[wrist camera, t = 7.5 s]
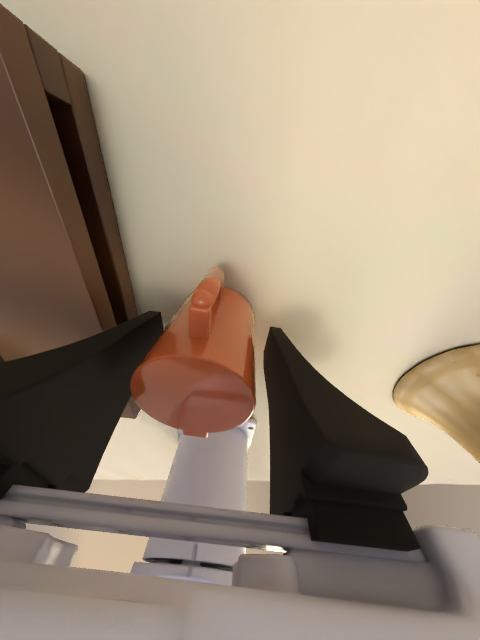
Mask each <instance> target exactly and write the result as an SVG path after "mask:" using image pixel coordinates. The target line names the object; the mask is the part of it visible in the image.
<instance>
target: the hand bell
mask: <svg viewBox="0 0 480 640" xmlns="http://www.w3.org/2000/svg"><path fill="white" fill-rule="evenodd" d="M393 398H394V402H395V403H396V405H397V406H398V407H399V408H400V409H402V410H403V411H405V412H406V413H408V414H410V415H412V416H414V417H418V418H421V419H424V420H426V421H428V422H430V423H432V424H433V425H435V426H437V427H438V428H440V429H441V430H442V431H444V432H445V433H446V434H448V435H449V436H450V437H452V438H453V439H454V440H455V441H456V442H458V443H459V444H460V445H461V446H462V447H463V448H464V449H465V450H466V451H468V452H469V453H470V454H471V455H472V456H473V457H474V458H475V459H476V460H477V461H478V462H479V463H480V345H473V346H468V347H463V348H459V349H454V350H451V351H448V352H445V353H442V354H439V355H437V356H435V357H432V358H430V359H428V360H426V361H424V362H422V363H421V364H420V365H418V366H416V367H415V368H413V369H412V370H410V371H409V372H408V373H407V374H405V375H404V376H403V377H402V378H401V380H400V381H399V382H398V383H397V385H396V387H395V389H394V392H393Z"/></svg>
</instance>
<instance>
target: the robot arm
mask: <svg viewBox="0 0 480 640" xmlns="http://www.w3.org/2000/svg"><path fill="white" fill-rule="evenodd" d="M162 332H163V325H162V318H161V312H155V311H149V312H146V313H144V314H141V315H139V316H137V317H135V318H133V319H130V320H128V321H126V322H124V323H122V324H119V325H117V326H115V327H113V328H110V329H108V330H105V331H103V332H101V333H98V334H96V335H93V336H91V337H88V338H85V339H83V340H80V341H77V342H74V343H71V344H68V345H65V346H62V347H58V348H55V349H51V350H48V351H44V352H41V353H38V354H34V355H30V356H26V357H22V358H18V359H14V360H10V361H5V362H1V363H0V640H480V540H479V538H478V537H477V535H476V534H475V532H473V531H472V530H470V529H468V528H460V527H451V526H442V525H424V526H420V527H417V528H415V529H414V530H413V531H412V529H411V527H410V525H409V523H408V521H407V519H406V517H405V515H404V513H403V511H406V510H407V505H406V504H405V501H404V500H403V498H402V496H401V493H403V492H405V491H407V490H409V489H411V488H413V487H415V486H416V485H418V484H420V483H421V482H423V481H424V480H425V479H426V478H427V476H428V468H427V466H426V465H425V463H424V462H423V460H422V459H421V457H420V456H419V454H418V453H417V451H416V450H415V448H414V447H413V446H412V444H411V443H410V441H409V440H408V438H407V437H406V436H405V435H404V434H402V433H400V432H399V431H397V430H396V429H394V428H393V427H391V426H389V425H388V424H386V423H385V422H383V421H381V420H380V419H378V418H377V417H375V416H374V415H372V414H371V413H369V412H368V411H366V410H365V409H364V408H362V407H361V406H359V405H358V404H356V403H355V402H354V401H352V400H351V399H350V398H348V397H347V396H346V395H344V394H343V393H342V392H341V391H339V390H338V389H337V388H336V387H334V386H333V385H332V384H331V383H330V382H329V381H327V380H326V379H325V378H324V377H323V376H322V375H321V374H320V373H319V372H318V371H317V370H315V369H314V368H313V367H312V366H311V364H310V363H309V362H308V361H307V360H306V359H305V358H304V357H303V356H302V355H301V353H300V352H299V351H298V350H297V349H296V348H295V346H294V345H293V344H292V343H291V341H290V340H289V339H288V337H287V336H286V335H285V333H284V332H283V331H282V329H281V328H276V327H270V330H269V333H268V337H267V341H266V345H265V349H264V374H265V382H266V389H267V397H268V405H269V425H270V514H264V513H255V512H247V511H246V505H247V453H248V450H249V447H250V444H251V441H252V438H253V435H254V432H255V429H256V420H254V419H248V420H247V421H246V422H245V423H243V424H242V425H240V426H238V427H236V428H234V429H231V430H227V431H223V432H216V433H208V437H207V438H204V437H196V436H188V435H183V430H180V429H178V431H179V439H180V441H179V444H178V447H177V450H176V454H175V457H174V460H173V463H172V466H171V470H170V473H169V476H168V479H167V483H166V486H165V489H164V493H163V495H162V499H161V502H160V501H151V500H143V499H133V498H125V497H116V496H108V495H99V494H91V493H85V492H86V491H87V490H88V489H89V487H90V485H91V482H92V480H93V477H94V475H95V473H96V470H97V468H98V465H99V463H100V461H101V458H102V456H103V453H104V451H105V449H106V447H107V445H108V442H109V440H110V438H111V436H112V434H113V431H114V429H115V427H116V425H117V423H118V421H119V419H120V417H121V415H122V413H123V411H124V409H125V407H126V405H127V403H128V401H129V399H130V397H131V395H132V394H131V390H130V381H131V376H132V374H133V372H134V371H135V369H136V368H137V367H138V365H139V364H140V362H141V361H142V360H143V358H144V357H145V356H146V354H147V353H148V351H149V350H150V349H151V347H152V346H153V345H154V343H155V342H156V340H157V339H158V338H159V336H160V335H161V334H162ZM25 523H30V524H39V525H48V526H57V527H66V528H75V529H83V530H92V531H102V532H110V533H119V534H128V535H137V536H146V537H149V540H148V543H147V547H146V550H145V553H144V557H143V560H144V561H147V562H150V563H143V562H134V564H133V567H132V570H131V573H121V572H113V571H103V570H93V569H85V568H76V567H69V566H70V564H71V562H72V560H73V558H74V556H75V554H76V552H77V550H78V546H77V545H75V544H71V543H68V542H64V541H62V540H59V539H57V538H54V537H52V536H51V535H49V534H48V533H43V532H37V531H32V530H27V529H26V525H25ZM246 548H254V549H262V550H271V551H280V552H285V553H284V554H283V555H277V554H246Z"/></svg>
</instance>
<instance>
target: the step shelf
mask: <svg viewBox="0 0 480 640" xmlns="http://www.w3.org/2000/svg"><path fill="white" fill-rule="evenodd" d="M137 316H138V315H137V311H136V306H135V302H134V297H133V293H132V289H131V284H130V280H129V275H128V271H127V266H126V262H125V257H124V253H123V248H122V244H121V239H120V235H119V230H118V226H117V222H116V217H115V213H114V208H113V204H112V199H111V195H110V190H109V186H108V181H107V177H106V172H105V168H104V164H103V159H102V155H101V150H100V146H99V141H98V137H97V132H96V128H95V123H94V119H93V114H92V110H91V105H90V101H89V97H88V92H87V88H86V83H85V79H84V74H83V72H82V71H81V70H80V69H79V68H78V67H77V66H75V65H74V64H73V63H72V62H70V61H69V60H68V59H67V58H65V57H64V56H63V55H62V54H60V53H59V52H58V51H57V50H56V49H55V48H54V47H53V46H51V45H50V44H49V43H48V42H46V41H45V40H44V39H43V38H41V37H40V36H39V35H38V34H37V33H35V32H34V31H33V30H32V29H30V28H29V27H28V26H27V25H25V24H23V22H22V21H21V20H20V19H18V18H17V17H16V16H15V15H13V14H12V13H11V12H10V11H9V10H7V9H6V8H5V7H4V6H2V5H1V4H0V356H1V357H2V358H3V359H4V361H10V360H14V359H18V358H22V357H26V356H30V355H34V354H38V353H41V352H44V351H48V350H51V349H55V348H58V347H62V346H65V345H68V344H71V343H74V342H77V341H80V340H83V339H85V338H88V337H91V336H93V335H96V334H98V333H101V332H103V331H105V330H108V329H110V328H113V327H115V326H117V325H119V324H122V323H124V322H126V321H128V320H130V319H133V318H135V317H137ZM140 410H141V408H140V407H139V406H138V405H137V403H136V402H135V400H134V399H133V396H132V395H131V397H130V399H129V401H128V403H127V405H126V407H125V409H124V411H123V413H122V415H121V417H124V418H132V419H135V418H136V417H137V415H138V413H139V411H140Z"/></svg>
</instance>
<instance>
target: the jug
mask: <svg viewBox="0 0 480 640" xmlns="http://www.w3.org/2000/svg"><path fill="white" fill-rule="evenodd" d="M224 277H225V275H224V272H223V271H222V270H221V269H220V268H217V267H214V268H211V269H210V270H209V271H208V273H207V274H206V276H205V277H204V278H203V280H202V281H201V283H200V284H199V286H198V287H197V289H196V290H195V291H194V292H193V293H192V294H190V295H189V296H188V298H187V299H186V300H185V302H184V303H183V305H182V306H181V307H180V309H179V310H178V311H177V313H176V314H175V316H174V317H173V318H172V320H171V321H170V322H169V324H168V325H167V327H166V328H165V329H164V331H163V332H162V334H161V335H160V336H159V338H158V339H157V340H156V342H155V343H154V345H153V346H152V347H151V349H150V350H149V351H148V353H147V354H146V356H145V357H144V358H143V360H142V361H141V362H140V364H139V365H138V367H137V368H136V369H135V371H134V372H133V374H132V376H131V381H130V390H131V394H132V396H133V399H134V400H135V402H136V403H137V405H138V406H139V407H140V408H141V409H142V410H143V411H144V412H145V413H147V414H148V415H149V416H151V417H152V418H154V419H155V420H157V421H159V422H161V423H163V424H166V425H168V426H171V427H173V428H177V429H180V430H183V435H188V436H196V437H204V438H207V437H208V433H216V432H223V431H227V430H231V429H234V428H236V427H238V426H240V425H242V424H243V423H245V422H246V421H247V420H248V419H249V418H250V417H251V415H252V414H253V412H254V409H255V405H256V381H255V332H254V314H253V310H252V308H251V306H250V304H249V303H248V301H247V300H246V299H245V298H244V297H243V296H242V295H241V294H239V293H238V292H236V291H234V290H232V289H230V288H227V287H224Z"/></svg>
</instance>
